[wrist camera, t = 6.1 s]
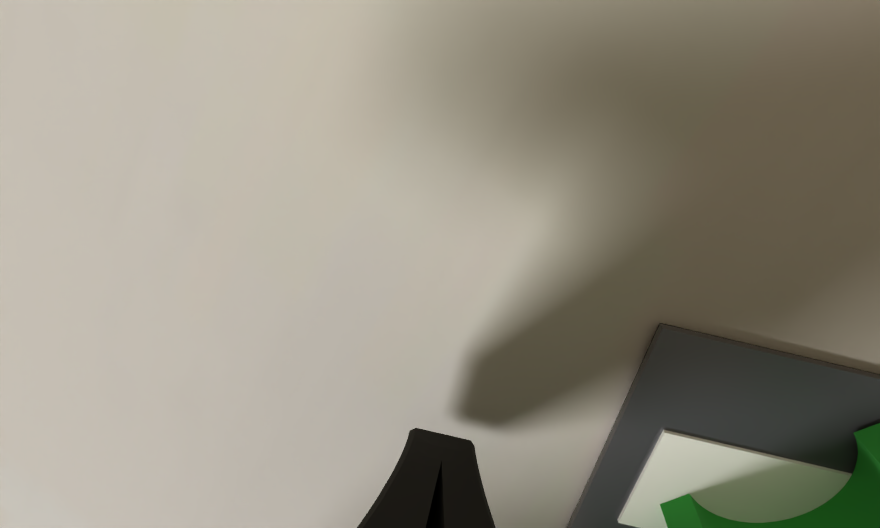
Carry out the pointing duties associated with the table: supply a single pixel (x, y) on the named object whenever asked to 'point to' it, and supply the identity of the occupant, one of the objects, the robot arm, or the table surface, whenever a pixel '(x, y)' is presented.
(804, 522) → the pipe clamp
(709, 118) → the table surface
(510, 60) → the table surface
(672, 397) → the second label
